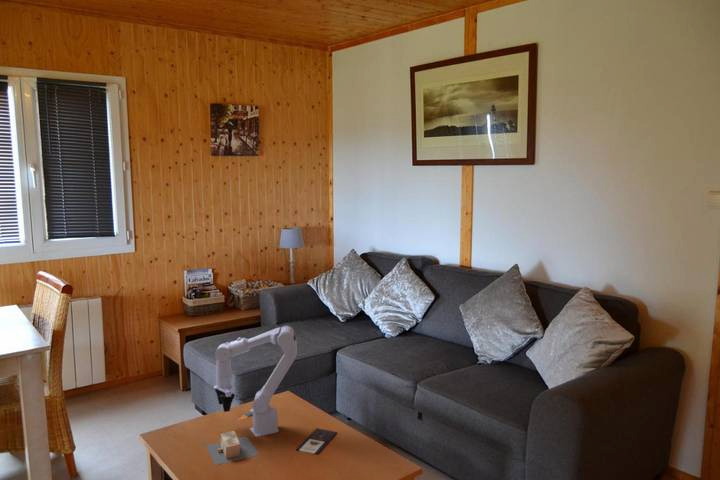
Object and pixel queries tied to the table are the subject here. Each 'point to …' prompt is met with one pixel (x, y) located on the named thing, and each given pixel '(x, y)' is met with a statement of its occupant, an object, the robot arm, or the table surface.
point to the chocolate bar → (316, 441)
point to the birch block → (230, 444)
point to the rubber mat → (245, 452)
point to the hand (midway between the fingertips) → (224, 407)
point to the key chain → (247, 414)
